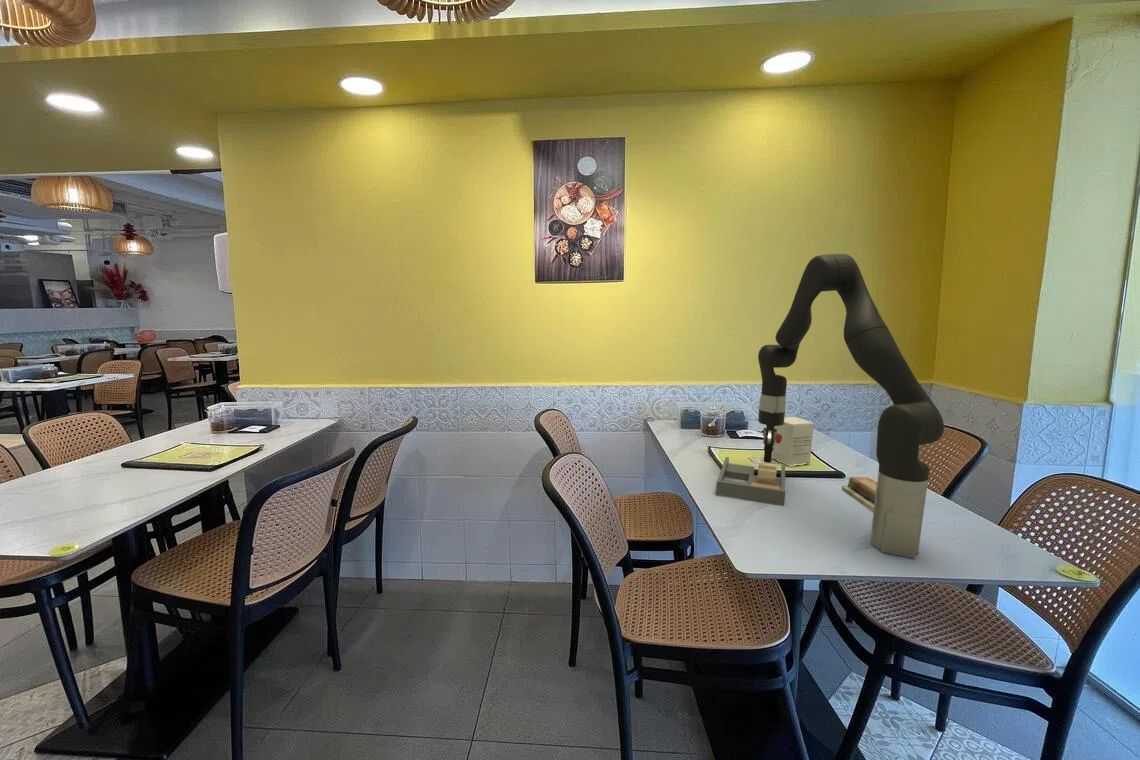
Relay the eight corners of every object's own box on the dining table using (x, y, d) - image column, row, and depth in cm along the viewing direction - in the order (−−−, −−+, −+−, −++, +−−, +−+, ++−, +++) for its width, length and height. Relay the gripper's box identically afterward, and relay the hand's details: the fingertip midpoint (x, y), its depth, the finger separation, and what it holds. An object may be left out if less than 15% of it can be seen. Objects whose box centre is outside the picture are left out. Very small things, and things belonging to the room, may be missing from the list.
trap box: (784, 505, 133) (785, 491, 132) (715, 494, 140) (716, 481, 139) (784, 476, 155) (785, 464, 154) (725, 468, 162) (725, 457, 161)
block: (775, 485, 142) (776, 472, 142) (757, 482, 144) (758, 469, 144) (775, 478, 148) (776, 465, 147) (758, 475, 150) (759, 463, 149)
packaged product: (841, 474, 145) (875, 475, 145) (840, 490, 145) (873, 490, 145) (879, 499, 127) (917, 500, 127) (876, 516, 128) (915, 517, 128)
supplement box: (770, 459, 172) (774, 417, 170) (791, 456, 175) (795, 416, 172) (789, 467, 164) (793, 424, 161) (810, 464, 166) (814, 422, 164)
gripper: (760, 403, 159) (755, 454, 162) (758, 411, 147) (753, 466, 150) (785, 405, 156) (780, 457, 159) (785, 414, 144) (780, 470, 147)
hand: (767, 461), depth 154 cm, fingers closed
